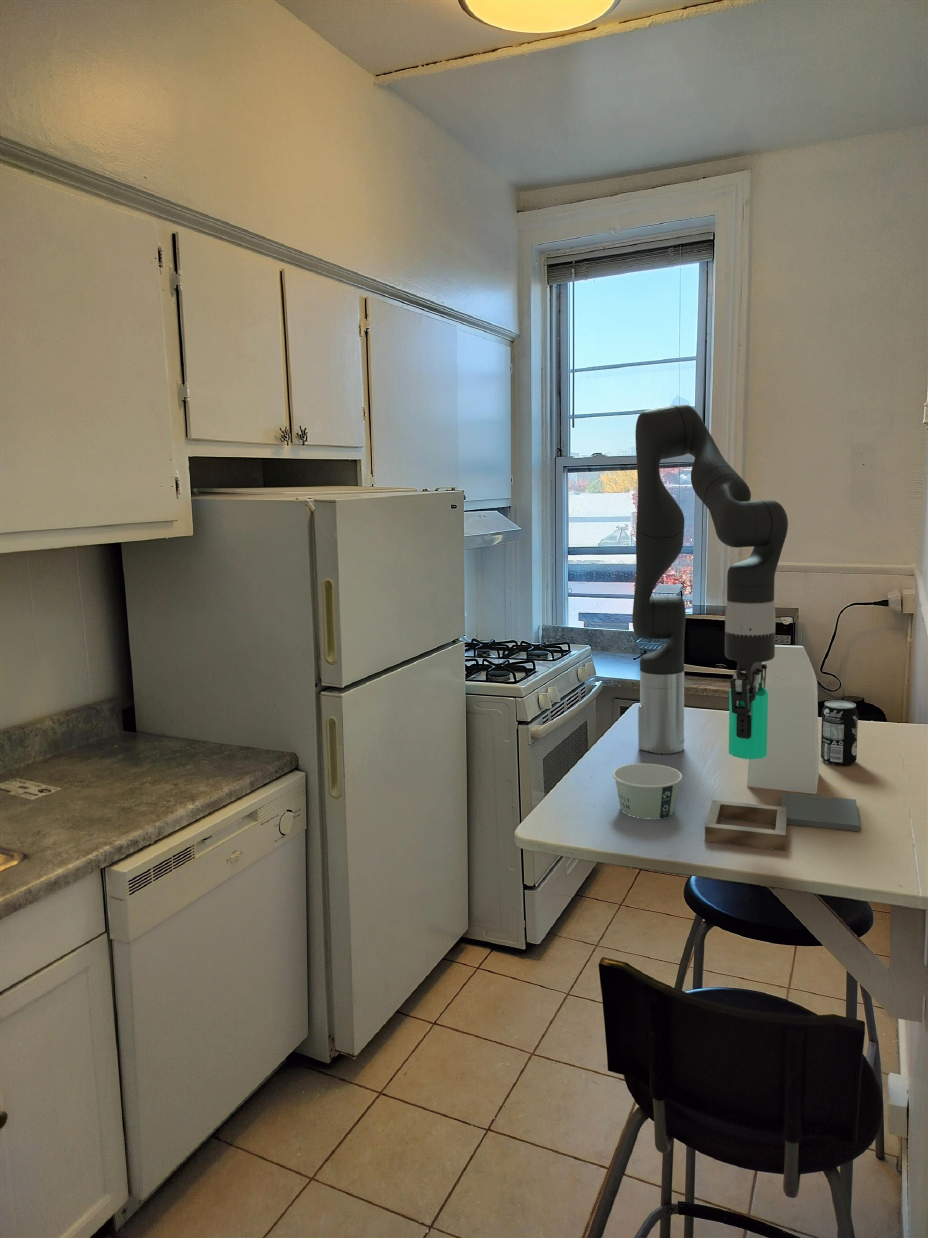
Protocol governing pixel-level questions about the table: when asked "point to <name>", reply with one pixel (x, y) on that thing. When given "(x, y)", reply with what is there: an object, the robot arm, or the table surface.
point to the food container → (647, 789)
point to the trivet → (821, 811)
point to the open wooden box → (746, 834)
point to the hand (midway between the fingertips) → (748, 732)
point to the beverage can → (839, 733)
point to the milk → (789, 725)
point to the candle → (758, 740)
